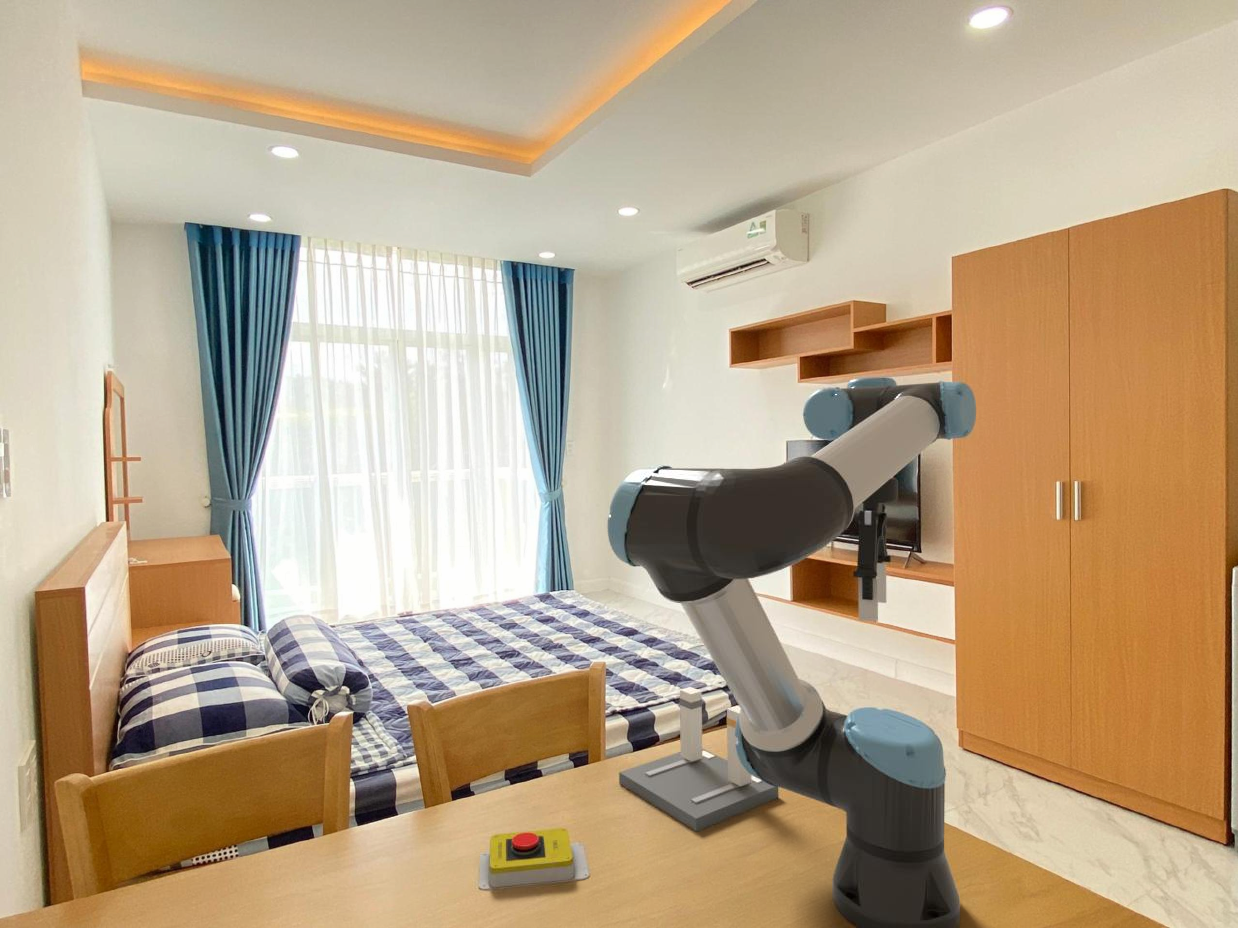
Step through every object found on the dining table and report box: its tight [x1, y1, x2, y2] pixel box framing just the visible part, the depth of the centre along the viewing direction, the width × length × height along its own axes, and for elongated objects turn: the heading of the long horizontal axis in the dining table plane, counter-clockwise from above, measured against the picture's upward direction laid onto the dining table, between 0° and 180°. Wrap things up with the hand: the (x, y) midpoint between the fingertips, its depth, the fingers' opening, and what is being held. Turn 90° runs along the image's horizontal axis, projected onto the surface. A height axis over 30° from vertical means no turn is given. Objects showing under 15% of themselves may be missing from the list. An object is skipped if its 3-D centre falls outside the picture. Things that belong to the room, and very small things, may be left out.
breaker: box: [679, 686, 703, 762], centre depth 134 cm, size 3×3×12 cm
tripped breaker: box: [726, 704, 752, 786], centre depth 125 cm, size 3×3×12 cm
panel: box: [618, 748, 779, 832], centre depth 127 cm, size 18×20×2 cm
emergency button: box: [477, 827, 590, 891], centre depth 106 cm, size 9×4×15 cm
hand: (873, 610), depth 119 cm, fingers open, 13 cm apart
